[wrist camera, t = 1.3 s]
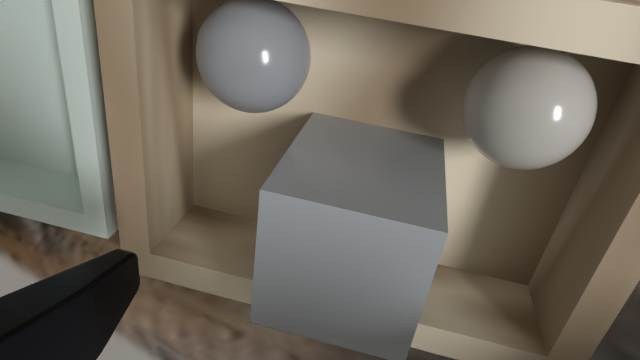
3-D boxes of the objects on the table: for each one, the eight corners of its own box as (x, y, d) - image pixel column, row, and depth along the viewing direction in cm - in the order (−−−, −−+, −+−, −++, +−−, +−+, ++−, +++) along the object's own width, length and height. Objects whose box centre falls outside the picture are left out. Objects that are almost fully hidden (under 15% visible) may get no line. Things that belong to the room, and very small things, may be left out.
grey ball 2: (596, 45, 11) (644, 76, 9) (551, 151, 13) (581, 204, 10) (476, 24, 12) (489, 48, 9) (446, 129, 13) (449, 175, 11)
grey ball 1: (328, -1, 12) (300, 14, 10) (314, 103, 14) (287, 140, 11) (224, -19, 13) (171, -9, 10) (222, 84, 14) (174, 116, 12)
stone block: (443, 138, 13) (448, 232, 9) (412, 245, 15) (404, 364, 11) (313, 112, 14) (259, 189, 10) (299, 218, 16) (249, 322, 12)
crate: (697, 6, 11) (796, 31, 8) (544, 304, 16) (570, 389, 13) (166, -78, 13) (84, -83, 10) (175, 213, 18) (122, 270, 15)
